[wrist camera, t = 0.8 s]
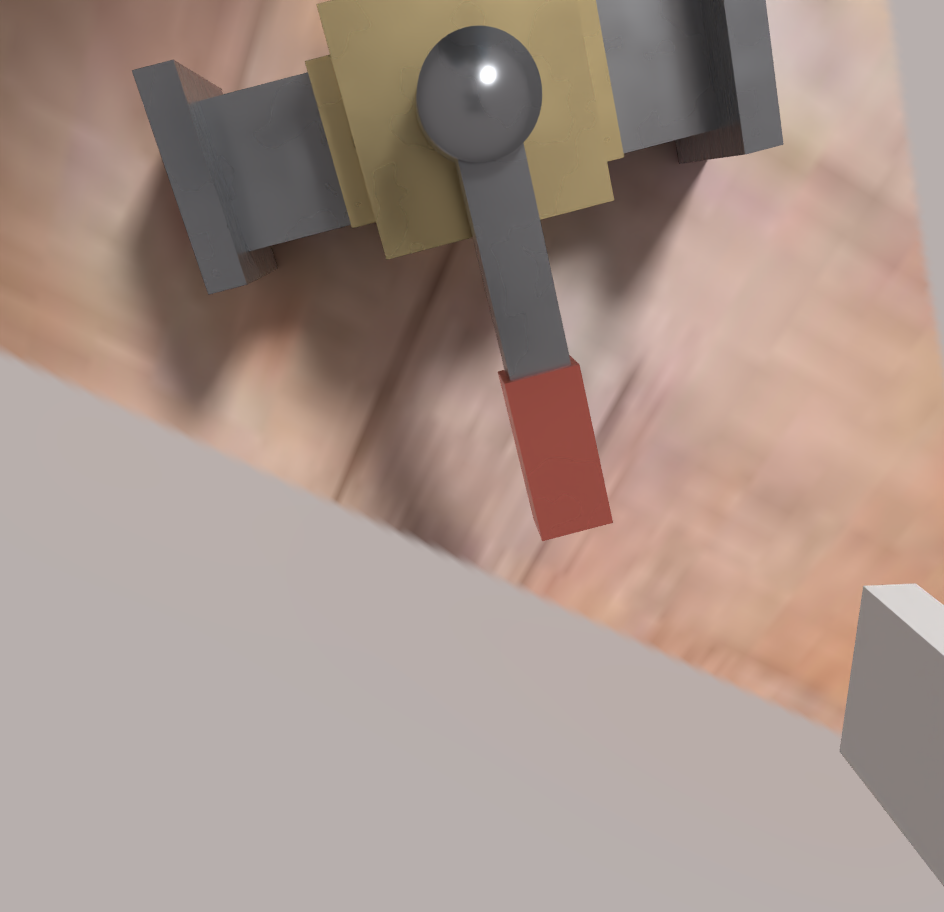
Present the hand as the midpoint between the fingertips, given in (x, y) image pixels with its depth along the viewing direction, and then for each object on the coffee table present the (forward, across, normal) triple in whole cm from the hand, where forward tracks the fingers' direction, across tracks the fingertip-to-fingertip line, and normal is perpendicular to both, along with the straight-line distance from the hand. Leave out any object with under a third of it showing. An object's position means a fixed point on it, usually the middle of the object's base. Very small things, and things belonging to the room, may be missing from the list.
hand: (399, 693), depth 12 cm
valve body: (+23, +2, +9) cm, 24 cm away
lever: (+15, +4, +4) cm, 16 cm away
